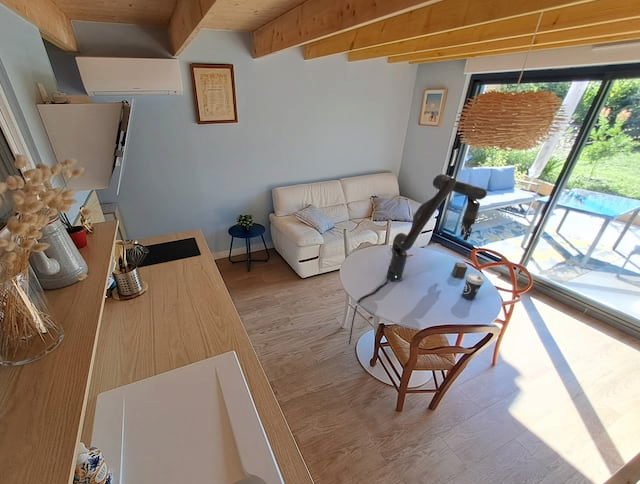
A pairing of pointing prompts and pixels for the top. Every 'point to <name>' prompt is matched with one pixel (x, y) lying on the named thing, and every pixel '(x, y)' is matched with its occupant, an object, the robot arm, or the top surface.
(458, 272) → the walnut block
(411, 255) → the magic lamp
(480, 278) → the coffee cup
